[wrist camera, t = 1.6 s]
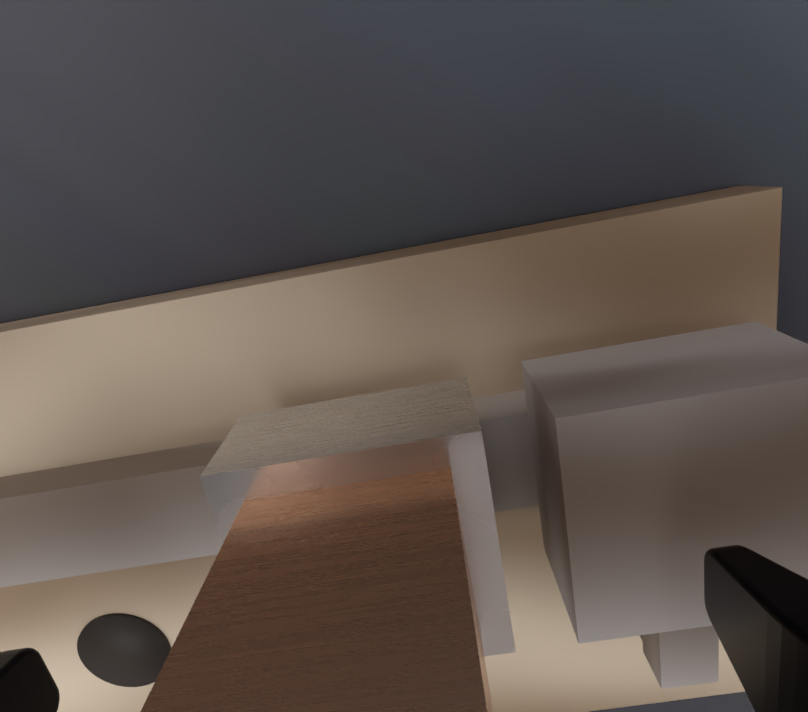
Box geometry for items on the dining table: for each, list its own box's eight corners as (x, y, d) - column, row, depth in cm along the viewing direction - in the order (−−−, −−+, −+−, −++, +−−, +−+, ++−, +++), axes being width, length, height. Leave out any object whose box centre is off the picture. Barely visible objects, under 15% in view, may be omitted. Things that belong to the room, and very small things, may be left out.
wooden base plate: (733, 648, 14) (870, 848, 10) (96, 732, 16) (-22, 944, 11) (742, 185, 11) (968, 196, 6) (-107, 343, 12) (-400, 442, 7)
